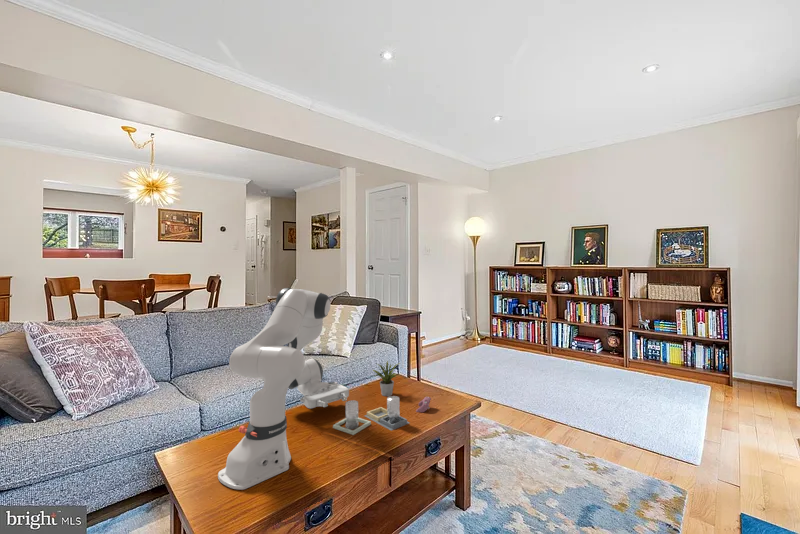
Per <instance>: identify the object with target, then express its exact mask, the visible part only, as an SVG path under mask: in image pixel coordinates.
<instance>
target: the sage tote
mask: <svg viewBox="0 0 800 534" xmlns="http://www.w3.org/2000/svg"><path fill="white" fill-rule="evenodd" d="M371 422H372V420H367V419H364V418H361V417H358V423H362V425H360V426H358V427H357V428H355V429H348V428H346V427H343V426H341V425H343V424H346V417H344V418H343V419H342V420H340V421H338V422H336V423H335V424H332V429H335V430H338V431H341V432H344V433H346V434H348V435H352V436H354V435H356V434H357V433H359V432H361V431H362V430H364V429H366V428H367V427H369V426H371V424H372V423H371Z"/></svg>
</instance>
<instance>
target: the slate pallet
mask: <svg viewBox="0 0 800 534" xmlns="http://www.w3.org/2000/svg"><path fill="white" fill-rule="evenodd" d="M364 418H367V419H369V421H371V422H375V423H376V424H378V425H379V426H381V427H383V428H385V429H387V430H389V431H391V432H392V431H394V430H396V429H399V428H401V427H404V426H407V425H409V424H410V423H411V422H409V421H408V419H407V418H405V417H403V416H401V415H400V421H399V422H397V423H394V424H391V423H389V422H387V408H384V407H382V406H379V407H378V408H377V407H376V408H375V409H374V408H373V409H371V410H368V411H366V414H365V415H364Z"/></svg>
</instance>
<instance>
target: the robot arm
mask: <svg viewBox="0 0 800 534" xmlns="http://www.w3.org/2000/svg"><path fill="white" fill-rule="evenodd" d="M330 311H331V298H330V297H329V295H327V294H326V293H322V292H316V291H312V290H308V289H300V288H293V287H285V288H282V289H280V290H279V291H278V293H277V295H276V298H275V307H274V309H273V311H272V313H271V316H270V318H269V319H268V321H267V323H266V324H265V326H264V327H263V328H262V329H261V331H259V332H258V333H257V335H254V337H253V338H252V339H250V340H248V341H247V342H245V343H243V344H241V345H239V346H237V347H236V348H235V349H233V351H232V352H231V354H230V356H229V361H228V362H229V364H228V365H229V369H230V371H231V372H232V374H234V375H236V376H239V377H243V378H247V379H258V380H263V388H261V389H259V390H257V391H256V392H254V393H253V395H252V396H251V398H250V401H249V421H248V424H247V427H246V426H244V425H241V426H239V428H238V432H239V433H241V434H245V435H244V437H242V438H241V440H240V441H239V442H238V444H237V445H235V447H234V448H233V449H232V450H231V451H230V452H229V453H228V456H227V458H226V461H225V463H226V464H225V467H224V468H222V469H221V470H219V471H218V473H217V478H218V481H219V482H220V483H221V484H222V485H224V486H225V487H228V488H230V489H234V490H247V489H248V488H251V487H253V486H255V485H257V484H260V483H262V482H264V481H266V480H268V479H271V478H273V477H275V476H277V475H279V474H281V473H282V474H283V472H286V471H288V470H289V469H290V465H289V463H290V462H291V460H292V456H291V452H290V449H289V446H288V445H289V444H288V440H287V427H288V426H287V425H288V424H287V423H288V422H287V421H288V418H287V416H286V398H287V397H286V396H287V393H288V391H289V390H293V389H296V388H297V390H298V391H299V393H301V395H302V397H301V398H299V401H300V402H301V403H303V405H304V406H305V407H306V408H307V409H314V408H316V407H323V408H327V407H329V405H328V404H330V403H333V402H337V401H340V400H341V402H347V400H348V397H350V390H349V388H348V387H346V386H345V385H342V384H340V383H339V384H338V382H337V381H331V382H327V381H326V382H322V380H323V375H324V373H323V372H324V369H323V366H322V363H320V362H319V361H318V360H317V359H315V358H313V357H312V358H309V359H305V355H304V354H303V352H302V350H303V349H304V348H305V347H306V346H307V345H309V344H311V343H312V342H314V341H315V340H317V339H318V338H319V337H320V335H321V333H322V331H323V328H324V327H323V324H324V318H326V317H327V316H328V314H329V312H330ZM286 345H287V346H286Z"/></svg>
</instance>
